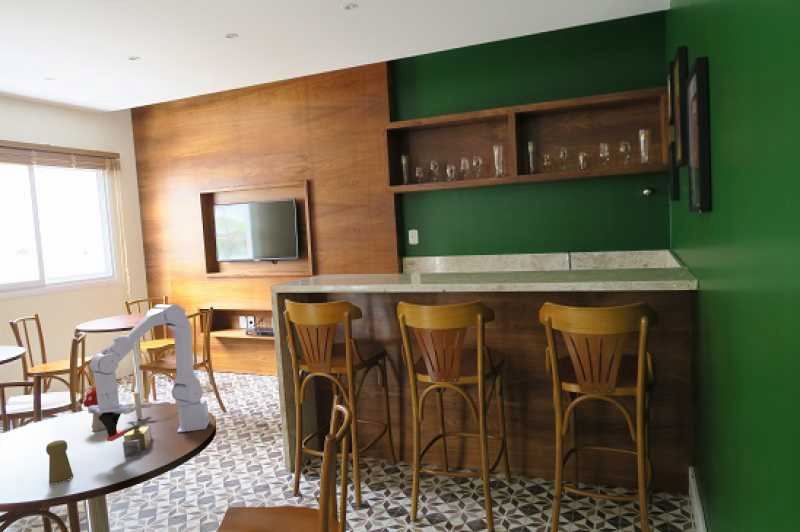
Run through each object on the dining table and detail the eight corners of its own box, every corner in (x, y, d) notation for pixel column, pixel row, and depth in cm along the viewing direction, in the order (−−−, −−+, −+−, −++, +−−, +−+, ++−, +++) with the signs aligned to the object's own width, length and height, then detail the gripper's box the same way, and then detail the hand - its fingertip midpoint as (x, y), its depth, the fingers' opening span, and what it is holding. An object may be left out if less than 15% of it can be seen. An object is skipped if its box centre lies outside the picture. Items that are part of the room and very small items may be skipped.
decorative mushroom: (112, 429, 202) (107, 388, 200) (85, 435, 198) (79, 393, 197) (114, 421, 211) (109, 381, 209) (88, 426, 207) (83, 386, 206)
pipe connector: (159, 413, 216) (156, 387, 215) (145, 423, 206) (141, 396, 205) (134, 414, 217) (131, 389, 216) (119, 424, 207) (115, 397, 206)
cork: (55, 475, 165) (50, 439, 165) (77, 473, 166) (72, 436, 165) (44, 485, 159) (39, 447, 159) (66, 482, 160) (61, 444, 159)
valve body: (154, 437, 190) (152, 419, 190) (142, 454, 176) (139, 434, 176) (135, 440, 189) (133, 421, 189) (121, 456, 176) (119, 437, 175)
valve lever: (135, 425, 184) (135, 421, 184) (142, 426, 183) (141, 421, 183) (106, 440, 172) (105, 436, 172) (112, 441, 171) (112, 436, 171)
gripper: (77, 396, 172) (83, 440, 173) (116, 397, 168) (122, 441, 169) (96, 389, 179) (101, 431, 180) (134, 389, 174) (139, 432, 176)
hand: (112, 435), depth 175 cm, fingers closed, pressing on valve lever
